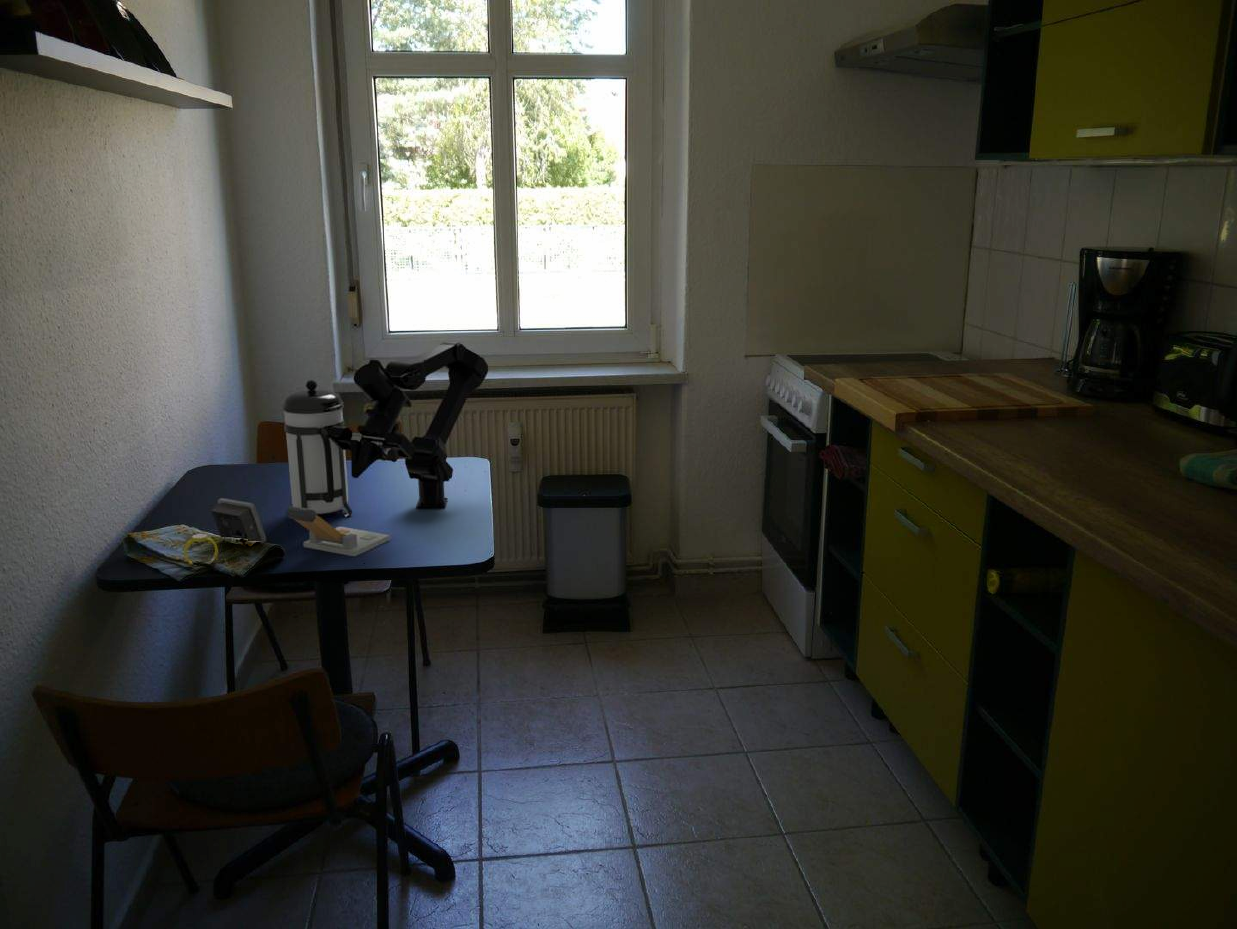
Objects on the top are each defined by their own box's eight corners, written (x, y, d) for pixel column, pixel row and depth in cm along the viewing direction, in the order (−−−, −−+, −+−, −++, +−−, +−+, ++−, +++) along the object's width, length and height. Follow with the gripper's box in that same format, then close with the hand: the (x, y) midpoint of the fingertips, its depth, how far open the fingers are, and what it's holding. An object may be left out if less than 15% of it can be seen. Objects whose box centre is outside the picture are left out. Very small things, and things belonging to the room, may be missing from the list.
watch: (216, 561, 201) (216, 532, 199) (219, 565, 198) (218, 536, 197) (183, 564, 198) (182, 535, 196) (185, 569, 195) (184, 539, 194)
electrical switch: (267, 542, 211) (260, 500, 207) (249, 552, 206) (241, 509, 203) (233, 536, 214) (225, 494, 211) (214, 546, 210) (206, 503, 207)
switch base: (340, 530, 218) (338, 515, 217) (389, 539, 212) (388, 523, 211) (303, 546, 208) (302, 530, 207) (354, 556, 203) (353, 539, 202)
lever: (326, 532, 208) (288, 503, 198) (349, 536, 206) (312, 507, 195) (321, 542, 207) (282, 514, 197) (345, 547, 205) (307, 519, 194)
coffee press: (268, 520, 224) (256, 384, 216) (314, 500, 238) (304, 372, 231) (334, 530, 218) (324, 390, 210) (378, 508, 232) (370, 377, 224)
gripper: (438, 438, 219) (410, 502, 212) (368, 429, 227) (338, 490, 220) (414, 409, 210) (383, 475, 203) (342, 401, 218) (310, 464, 211)
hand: (354, 477), depth 210 cm, fingers closed
